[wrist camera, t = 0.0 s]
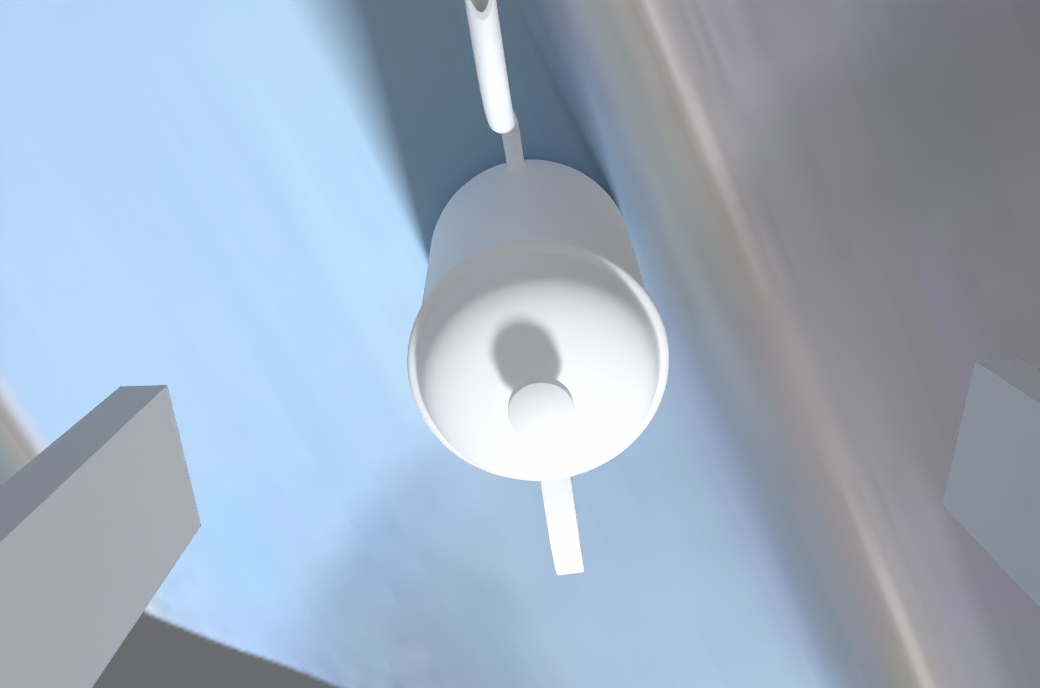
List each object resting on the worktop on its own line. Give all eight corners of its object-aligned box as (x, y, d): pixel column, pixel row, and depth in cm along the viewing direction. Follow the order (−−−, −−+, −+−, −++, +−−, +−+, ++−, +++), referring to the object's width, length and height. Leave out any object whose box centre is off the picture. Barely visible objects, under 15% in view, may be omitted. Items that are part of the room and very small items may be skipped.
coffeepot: (603, -18, 34) (693, -94, 17) (645, 431, 44) (731, 680, 26) (383, 18, 35) (251, -20, 17) (471, 454, 44) (442, 713, 27)
